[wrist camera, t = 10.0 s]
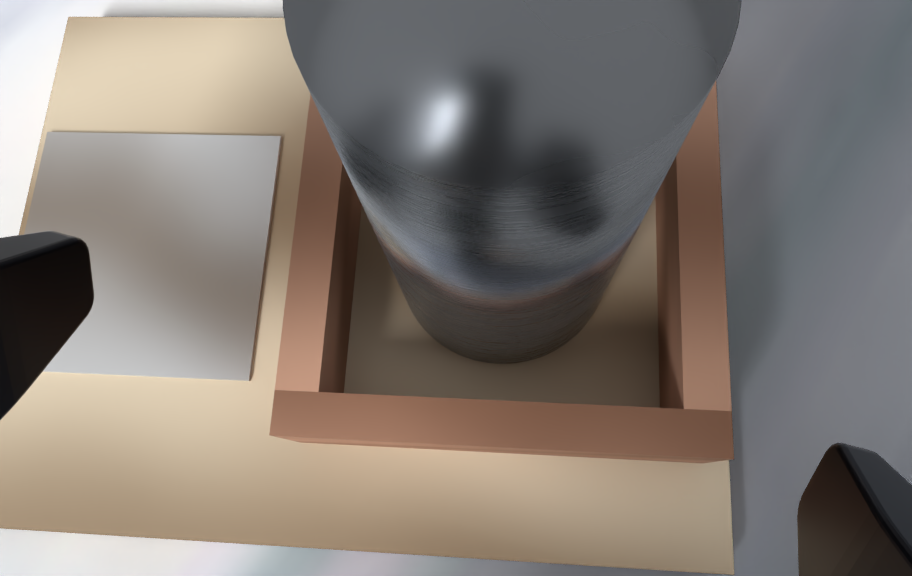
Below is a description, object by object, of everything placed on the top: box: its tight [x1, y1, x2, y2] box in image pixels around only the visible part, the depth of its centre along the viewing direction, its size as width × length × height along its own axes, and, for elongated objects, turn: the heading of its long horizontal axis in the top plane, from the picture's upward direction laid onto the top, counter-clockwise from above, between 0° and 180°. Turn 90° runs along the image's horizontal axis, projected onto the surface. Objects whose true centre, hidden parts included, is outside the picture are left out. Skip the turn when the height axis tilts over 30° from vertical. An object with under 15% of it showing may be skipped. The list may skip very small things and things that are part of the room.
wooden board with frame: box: [0, 17, 734, 575], centre depth 15 cm, size 12×16×3 cm
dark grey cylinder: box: [283, 0, 741, 364], centre depth 11 cm, size 4×4×9 cm
